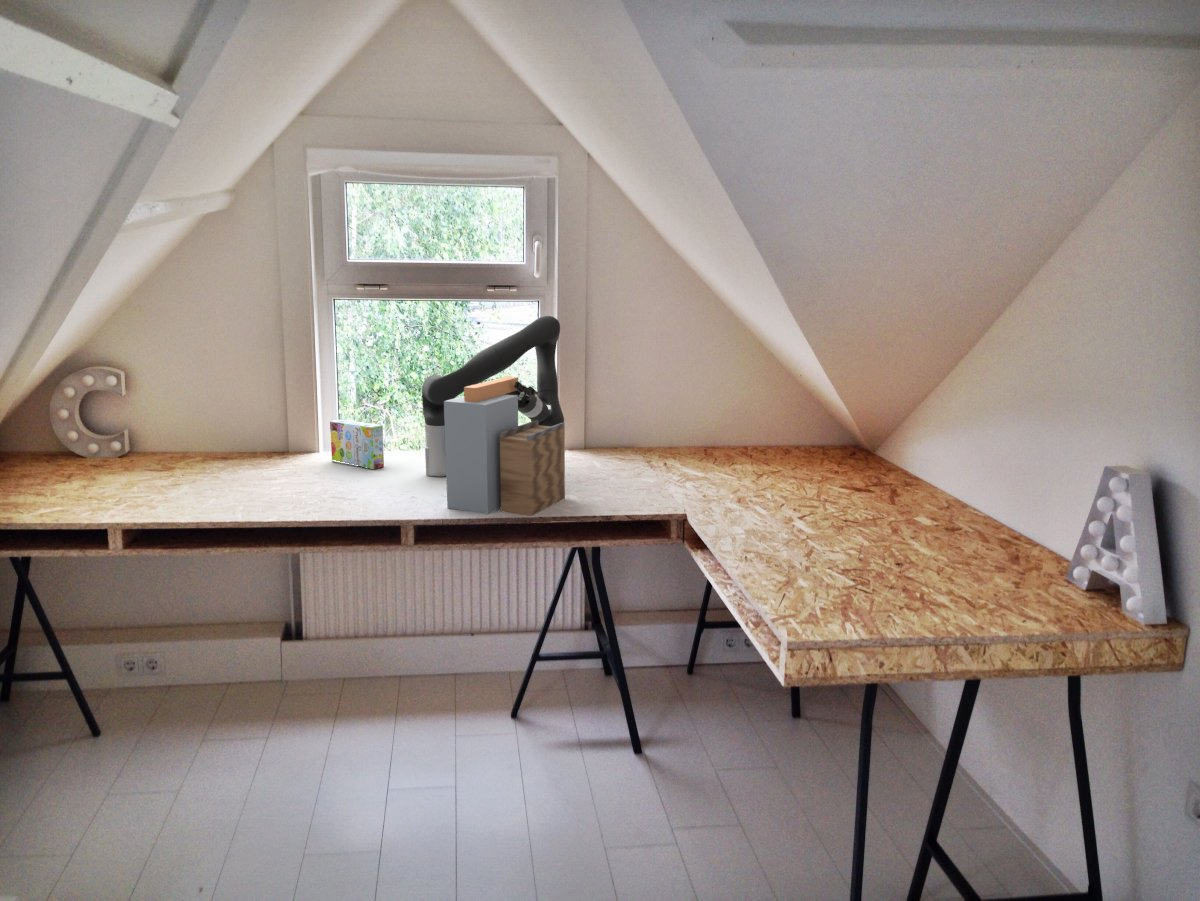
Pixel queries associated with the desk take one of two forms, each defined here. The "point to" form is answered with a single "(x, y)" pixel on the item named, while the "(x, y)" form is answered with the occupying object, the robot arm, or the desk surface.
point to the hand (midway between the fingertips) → (503, 382)
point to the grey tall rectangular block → (476, 450)
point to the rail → (489, 389)
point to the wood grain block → (532, 467)
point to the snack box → (357, 443)
